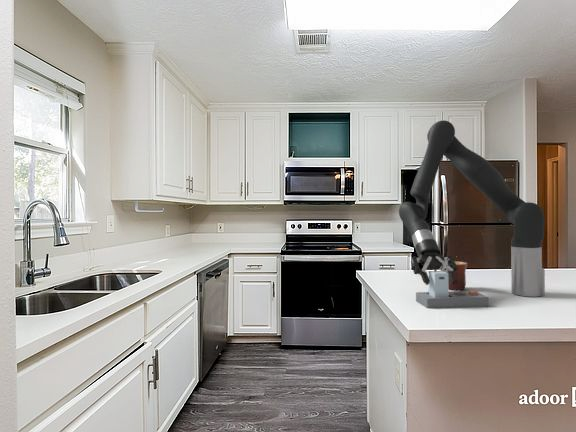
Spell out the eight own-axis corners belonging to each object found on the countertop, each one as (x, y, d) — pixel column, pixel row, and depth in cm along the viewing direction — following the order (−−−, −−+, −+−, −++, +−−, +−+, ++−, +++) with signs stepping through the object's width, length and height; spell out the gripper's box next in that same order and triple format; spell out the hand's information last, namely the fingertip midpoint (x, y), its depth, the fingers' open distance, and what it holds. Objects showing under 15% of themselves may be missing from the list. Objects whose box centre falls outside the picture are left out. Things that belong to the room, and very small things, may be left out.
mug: (466, 287, 143) (466, 261, 143) (468, 292, 135) (468, 264, 135) (434, 285, 147) (433, 260, 147) (434, 290, 139) (434, 263, 139)
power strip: (473, 299, 124) (472, 288, 124) (488, 306, 115) (488, 294, 115) (416, 301, 123) (415, 289, 123) (427, 308, 114) (427, 296, 114)
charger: (442, 300, 121) (441, 271, 121) (448, 304, 116) (448, 273, 116) (429, 300, 121) (428, 271, 120) (435, 304, 116) (434, 273, 116)
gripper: (408, 238, 125) (422, 277, 114) (448, 237, 126) (466, 276, 115) (403, 251, 131) (416, 290, 119) (441, 251, 131) (458, 288, 120)
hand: (440, 283), depth 117 cm, fingers open, 8 cm apart
